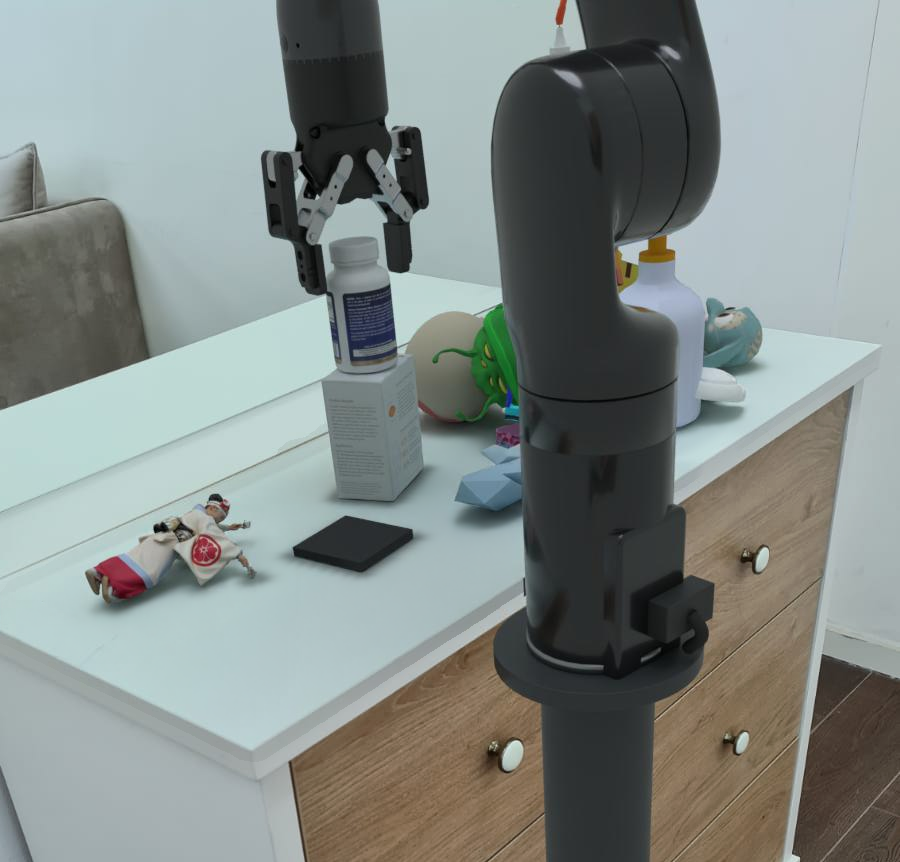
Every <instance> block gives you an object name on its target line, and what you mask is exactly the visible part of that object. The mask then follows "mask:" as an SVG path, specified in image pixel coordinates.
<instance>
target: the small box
mask: <svg viewBox="0 0 900 862" xmlns="http://www.w3.org/2000/svg"><path fill="white" fill-rule="evenodd" d="M320 382H321V388H322V395H323V402H324V409H325V416H326V421H327V431H328V437H329V442H330V443H329V444H330V451H331V452H330V453H331V458H332V466H333V472H334V479H335V486H336V492H337V494H336V495H337V497H338V498H339V499H345V500H346V499H348V500H349V499H350V500H365V501H379V502H395V500H396V499H397V498H398V497H399V496H400V495H401V494H402V493H403V491H404V490H406V488H407V487H408V486H409V485H410V484H411V483H412V482H413V480H414V479H416V477H417V476H418V475H419V474H420V473H421V472H422V470H424V467H425V466H424V453H423V442H422V431H421V430H422V429H421V419H420V408H419V407H418V396H417V386H416V375H415V364H414V355H413V354H405V353H398V360H397V362H396V363H395V364H394V365H393V366H392V367H390V368H387V369H385V370H382V371H378V372H372V373H347V372H343V371H340V370H339V369H338V368H337V367H336V368H335V369H334V370H333V371H331V372H330V373H329V374H327V376H325V377H324V378H322V379H321V381H320Z"/></svg>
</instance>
